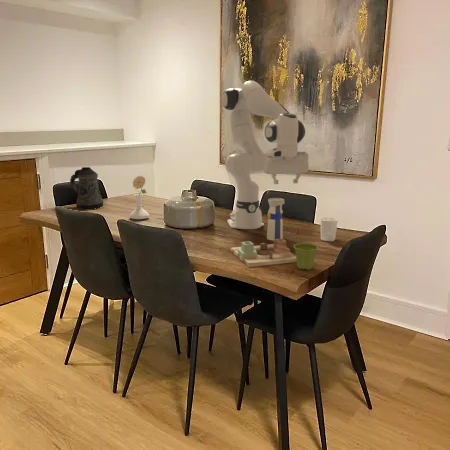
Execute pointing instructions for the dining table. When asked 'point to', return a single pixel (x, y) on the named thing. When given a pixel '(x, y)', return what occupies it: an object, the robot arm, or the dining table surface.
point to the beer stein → (87, 189)
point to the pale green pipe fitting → (247, 249)
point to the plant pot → (305, 255)
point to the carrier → (268, 254)
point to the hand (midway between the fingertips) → (285, 183)
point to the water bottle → (275, 219)
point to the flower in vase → (139, 199)
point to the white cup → (328, 229)
